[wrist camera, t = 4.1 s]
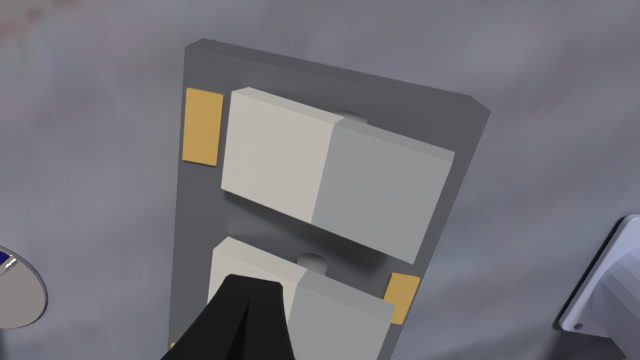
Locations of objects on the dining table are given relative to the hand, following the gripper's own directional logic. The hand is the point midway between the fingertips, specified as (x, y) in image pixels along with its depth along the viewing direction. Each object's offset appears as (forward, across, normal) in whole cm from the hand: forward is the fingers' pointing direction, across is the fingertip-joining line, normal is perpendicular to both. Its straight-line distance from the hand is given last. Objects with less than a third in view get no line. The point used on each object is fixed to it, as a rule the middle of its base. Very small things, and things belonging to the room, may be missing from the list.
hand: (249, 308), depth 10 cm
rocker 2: (+8, -2, +5) cm, 10 cm away
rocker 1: (+8, -2, -1) cm, 8 cm away
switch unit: (+10, -2, +6) cm, 12 cm away
